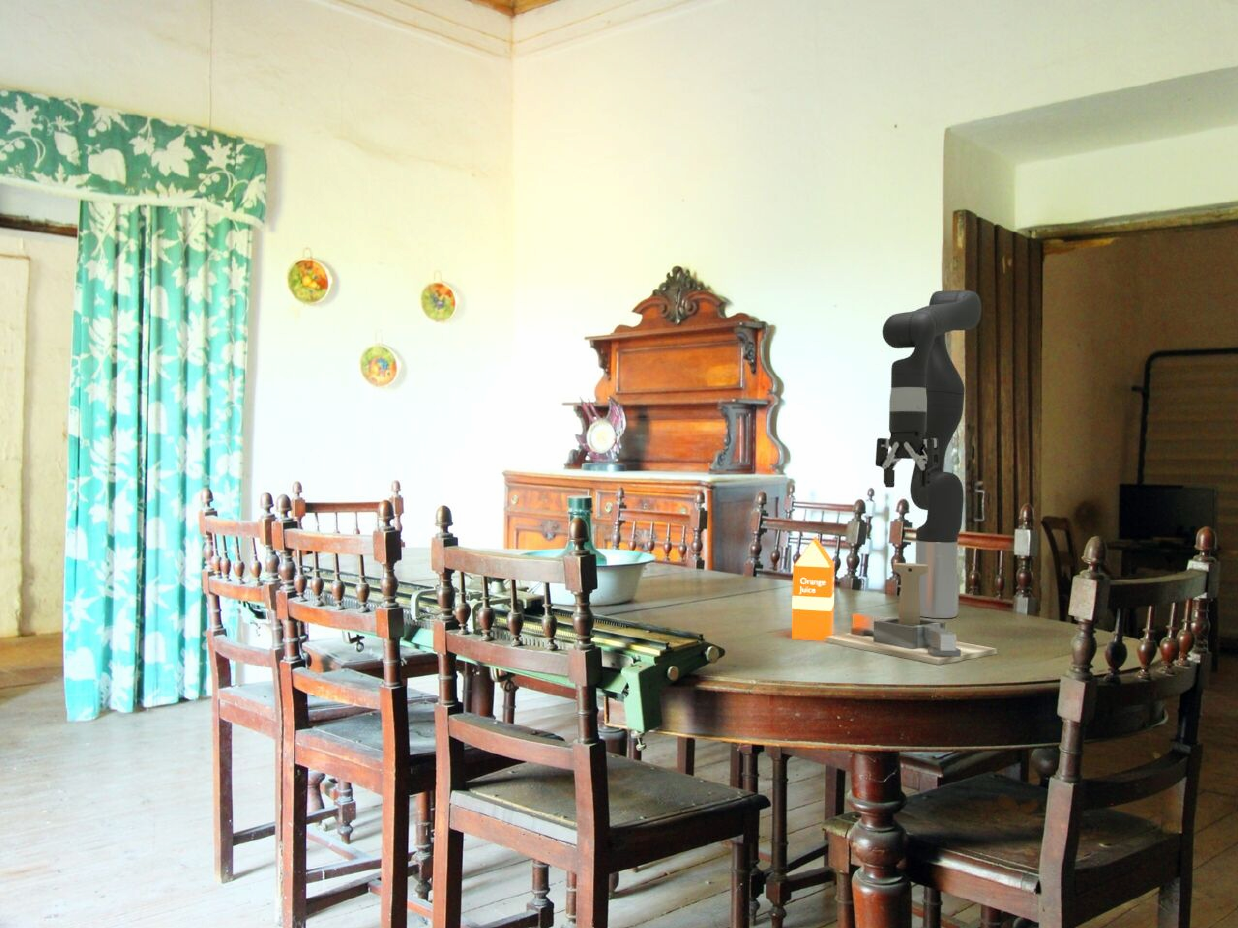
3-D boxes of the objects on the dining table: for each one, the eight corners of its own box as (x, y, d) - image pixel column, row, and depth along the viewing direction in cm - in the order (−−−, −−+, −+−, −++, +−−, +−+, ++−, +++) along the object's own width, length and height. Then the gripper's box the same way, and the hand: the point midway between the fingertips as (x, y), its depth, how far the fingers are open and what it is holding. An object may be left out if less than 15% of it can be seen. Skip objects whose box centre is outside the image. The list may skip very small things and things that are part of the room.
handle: (891, 639, 201) (893, 562, 201) (926, 641, 200) (927, 564, 199) (891, 643, 197) (892, 564, 197) (926, 645, 195) (927, 566, 195)
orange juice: (833, 633, 213) (835, 536, 212) (830, 640, 204) (832, 540, 204) (795, 631, 215) (797, 535, 215) (790, 638, 206) (792, 538, 206)
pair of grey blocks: (865, 631, 210) (865, 611, 210) (979, 652, 189) (980, 631, 189) (832, 636, 203) (832, 616, 203) (947, 659, 183) (947, 636, 183)
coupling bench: (883, 632, 214) (884, 608, 214) (996, 653, 193) (997, 627, 193) (825, 641, 203) (826, 616, 203) (938, 665, 182) (939, 636, 182)
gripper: (948, 410, 211) (946, 489, 211) (891, 411, 222) (889, 486, 222) (925, 408, 206) (924, 489, 206) (868, 410, 217) (867, 487, 218)
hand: (906, 488), depth 214 cm, fingers open, 8 cm apart
